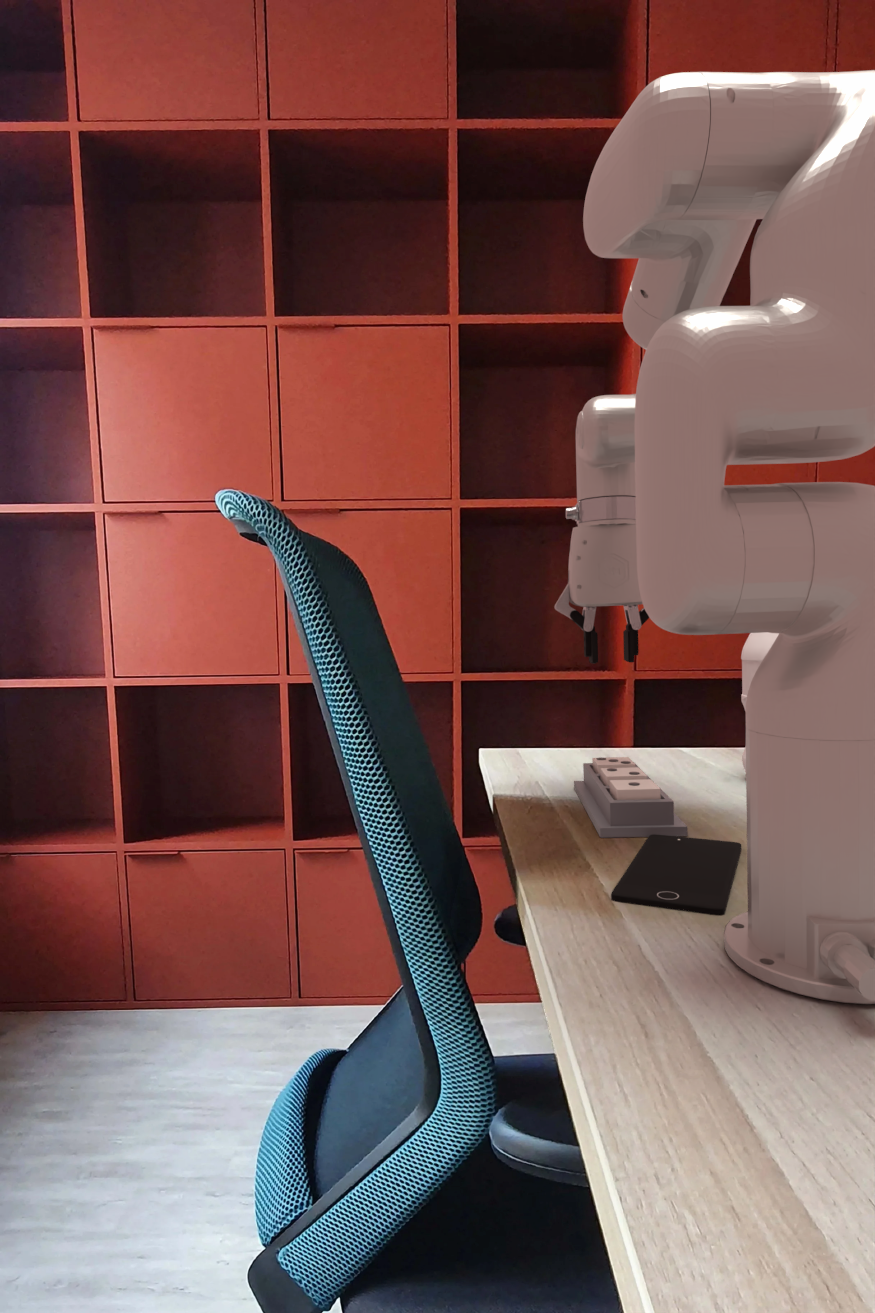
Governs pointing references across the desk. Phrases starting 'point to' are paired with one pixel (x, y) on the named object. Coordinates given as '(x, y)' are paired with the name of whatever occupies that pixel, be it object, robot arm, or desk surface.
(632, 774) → the tile two
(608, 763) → the tile three
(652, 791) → the tile one
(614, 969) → the desk surface
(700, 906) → the cell phone
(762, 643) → the water bottle
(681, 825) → the tile tray
